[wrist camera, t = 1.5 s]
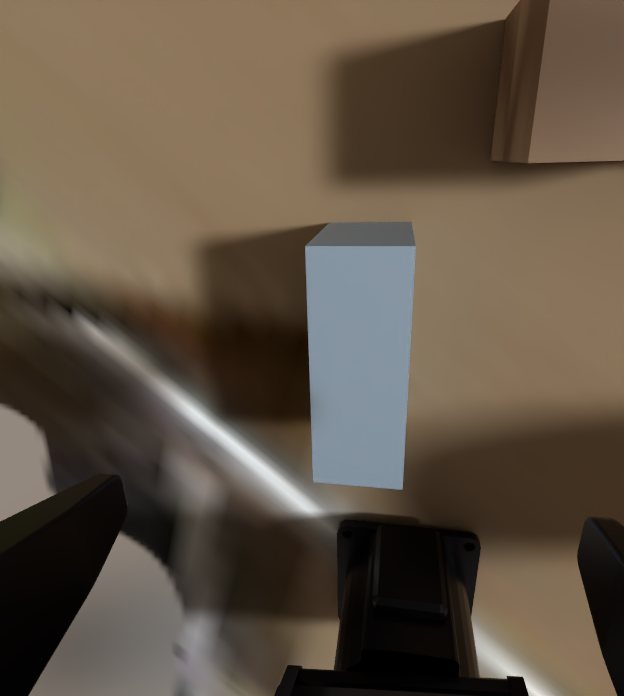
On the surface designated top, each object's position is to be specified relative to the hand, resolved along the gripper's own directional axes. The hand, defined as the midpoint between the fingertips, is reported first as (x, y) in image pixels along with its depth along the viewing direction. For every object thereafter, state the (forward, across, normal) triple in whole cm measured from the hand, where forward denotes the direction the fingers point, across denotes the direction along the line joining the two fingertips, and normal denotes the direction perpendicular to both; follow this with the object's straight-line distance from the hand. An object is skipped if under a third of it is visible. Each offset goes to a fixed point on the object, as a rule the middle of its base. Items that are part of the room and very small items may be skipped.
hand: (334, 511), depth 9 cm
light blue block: (+11, 0, 0) cm, 11 cm away
